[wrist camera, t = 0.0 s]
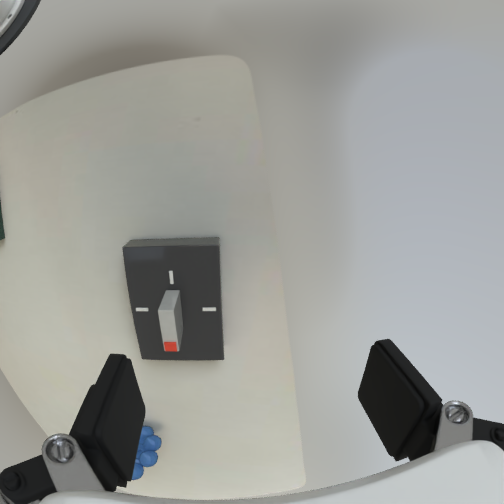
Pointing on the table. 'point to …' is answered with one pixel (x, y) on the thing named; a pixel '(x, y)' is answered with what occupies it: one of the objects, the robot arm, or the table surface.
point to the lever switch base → (191, 293)
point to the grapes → (146, 451)
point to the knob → (171, 320)
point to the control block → (1, 225)
